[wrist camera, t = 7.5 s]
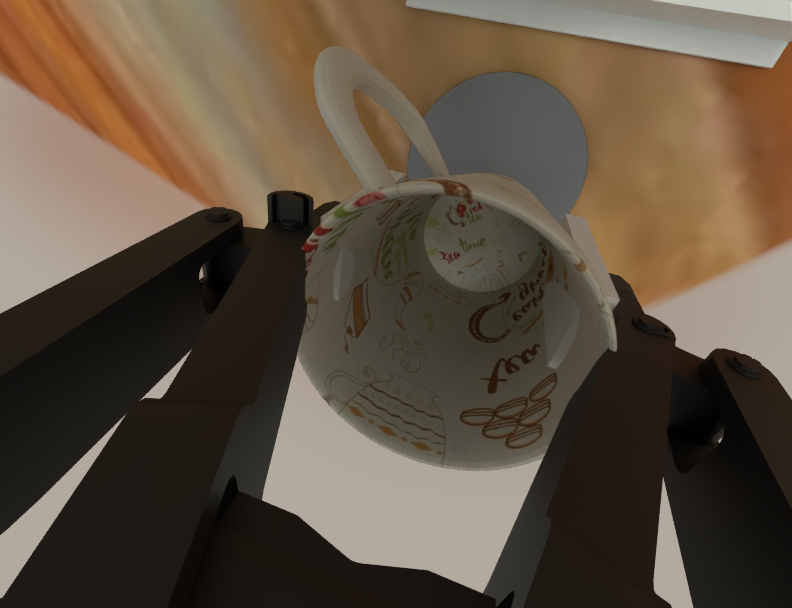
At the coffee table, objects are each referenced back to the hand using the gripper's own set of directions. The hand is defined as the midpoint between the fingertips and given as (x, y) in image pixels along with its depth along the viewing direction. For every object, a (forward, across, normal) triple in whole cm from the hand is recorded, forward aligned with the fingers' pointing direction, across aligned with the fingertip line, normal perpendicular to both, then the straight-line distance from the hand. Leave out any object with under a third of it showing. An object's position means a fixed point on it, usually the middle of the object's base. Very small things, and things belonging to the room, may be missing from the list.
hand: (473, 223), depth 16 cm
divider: (+9, +2, +9) cm, 13 cm away
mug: (+2, -1, 0) cm, 2 cm away
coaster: (+9, 0, 0) cm, 9 cm away
